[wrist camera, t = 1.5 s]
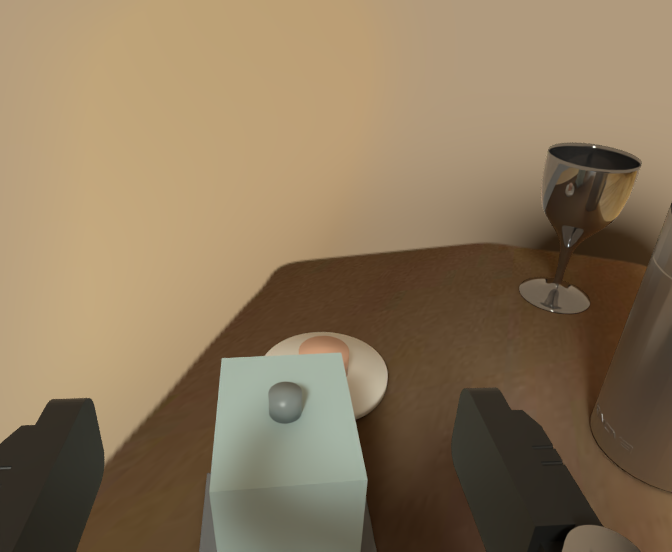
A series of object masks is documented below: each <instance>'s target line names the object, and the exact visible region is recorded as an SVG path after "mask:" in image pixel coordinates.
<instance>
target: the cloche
mask: <svg viewBox="0 0 672 552" xmlns="http://www.w3.org/2000/svg"><path fill="white" fill-rule="evenodd" d="M367 480H368V479H367V475H366V470H365V465H364V460H363V455H362V450H361V446H360V441H359V436H358V431H357V426H356V421H355V416H354V412H353V407H352V402H351V397H350V392H349V387H348V383H347V378H346V373H345V368H344V363H343V358H342V354H341V353H321V354H301V355H281V356H261V357H240V358H222V363H221V374H220V384H219V395H218V405H217V416H216V426H215V437H214V447H213V458H212V468H211V479H210V489H209V494H210V502H211V510H212V517H213V525H214V533H215V540H216V548H217V552H361V542H362V531H363V521H364V511H365V501H366V490H367Z"/></svg>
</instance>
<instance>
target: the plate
mask: <svg viewBox="0 0 672 552" xmlns="http://www.w3.org/2000/svg"><path fill="white" fill-rule="evenodd" d="M315 336H331V337H335V338H338V339H340V340H342V341H343V342H344V343H345V344H346V345H347V346H348V348H349V365H348V375H347V377H346V378H347V383H348V387H349V392H350V397H351V402H352V407H353V412H354V416H355V420H357V419H359V418H361V417H363V416H365V415H367V414H368V413H370V412H371V411H372V410H373V409H375V408H376V407H377V406H378V404H379V403H380V402H381V400H382V399H383V397H384V395H385V392H386V387H387V380H388V372H387V367H386V365H385V362H384V361H383V359H382V357H381V356H380V355H379V354H378V353H377V352H376V351H375V350H374V349H373V348H372V347H371V346H369V345H368V344H366V343H364V342H362V341H361V340H358V339H356V338H353V337H350V336H347V335H343V334H338V333H331V332H313V333H306V334H301V335H297V336H294V337H291V338H288V339H286V340H284V341H282V342H280V343H278V344H277V345H275V346H274V347H273V348H272V349H271V350H270V351H269V352H268V353H267V354H266V355H265V356H281V355H299V347H300V345H301V344H302V343H303V342H304V341H305V340H307V339H309V338H312V337H315Z"/></svg>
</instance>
